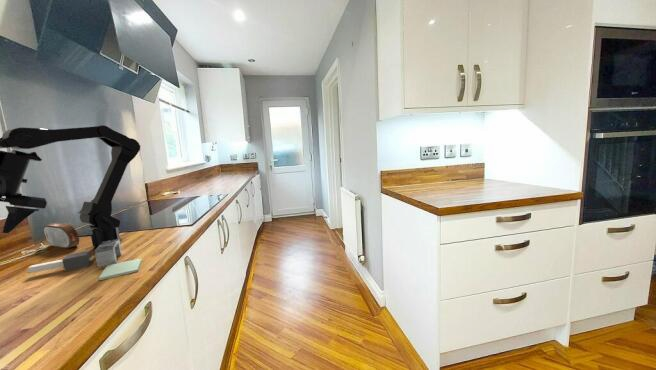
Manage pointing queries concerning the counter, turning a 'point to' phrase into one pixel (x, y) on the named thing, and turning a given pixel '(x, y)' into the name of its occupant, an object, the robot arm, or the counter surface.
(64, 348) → the counter surface
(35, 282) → the counter surface
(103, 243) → the housing
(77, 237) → the tin
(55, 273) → the counter surface
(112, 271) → the mat
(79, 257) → the plug
